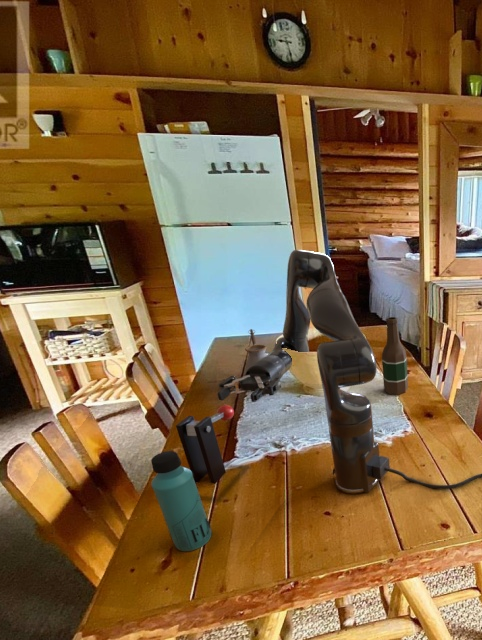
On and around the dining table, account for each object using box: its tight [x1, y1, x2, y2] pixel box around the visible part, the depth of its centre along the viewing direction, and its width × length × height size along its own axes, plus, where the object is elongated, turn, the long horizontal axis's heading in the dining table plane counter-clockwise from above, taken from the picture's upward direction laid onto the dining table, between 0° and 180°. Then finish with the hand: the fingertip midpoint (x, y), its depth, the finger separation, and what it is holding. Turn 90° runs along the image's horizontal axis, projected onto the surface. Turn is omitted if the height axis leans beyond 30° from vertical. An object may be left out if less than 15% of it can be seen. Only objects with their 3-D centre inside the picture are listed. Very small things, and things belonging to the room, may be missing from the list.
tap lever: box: [186, 404, 235, 436], centre depth 99 cm, size 14×4×4 cm, turn 174°
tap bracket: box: [175, 415, 227, 485], centre depth 96 cm, size 12×10×16 cm
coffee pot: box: [243, 328, 268, 376], centre depth 149 cm, size 21×12×15 cm, turn 25°
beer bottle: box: [381, 316, 409, 396], centre depth 138 cm, size 8×8×24 cm
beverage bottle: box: [150, 450, 213, 552], centre depth 78 cm, size 6×7×20 cm
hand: (235, 397), depth 108 cm, fingers open, 8 cm apart
